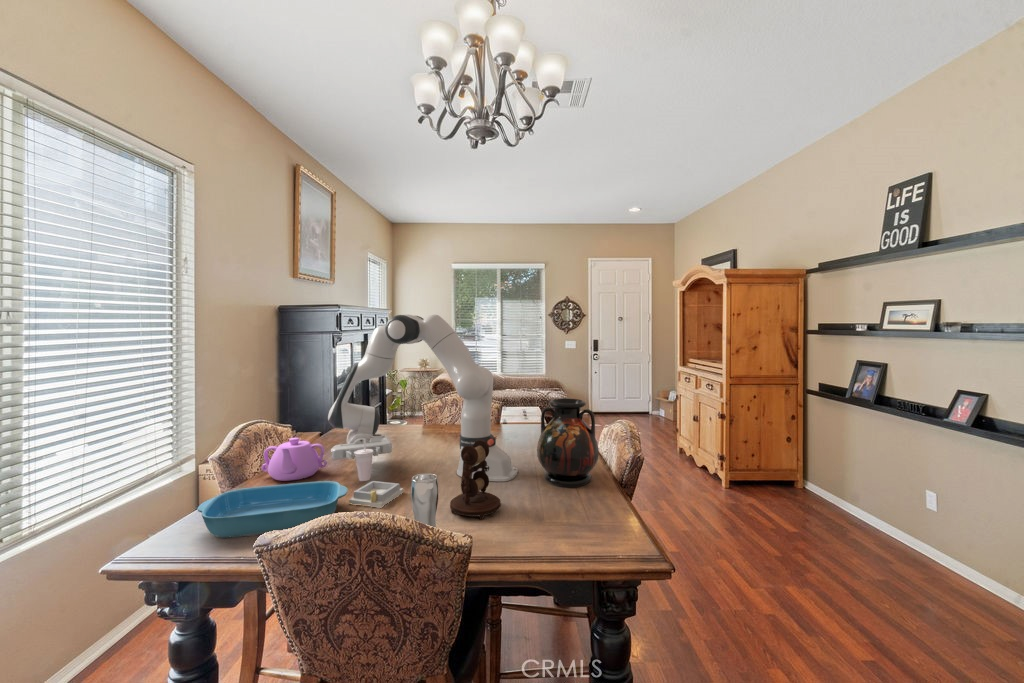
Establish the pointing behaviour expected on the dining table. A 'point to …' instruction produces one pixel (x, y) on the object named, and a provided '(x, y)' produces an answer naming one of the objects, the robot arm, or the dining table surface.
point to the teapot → (293, 460)
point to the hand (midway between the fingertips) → (364, 455)
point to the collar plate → (376, 494)
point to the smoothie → (364, 462)
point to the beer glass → (425, 498)
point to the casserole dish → (269, 507)
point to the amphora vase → (567, 444)
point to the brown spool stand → (475, 484)
